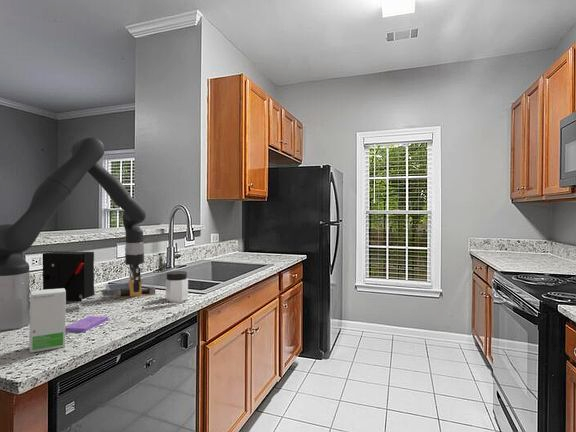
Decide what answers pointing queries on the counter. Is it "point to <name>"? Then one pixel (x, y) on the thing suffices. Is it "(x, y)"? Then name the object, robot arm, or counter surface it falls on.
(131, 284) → the orange block
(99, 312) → the counter surface
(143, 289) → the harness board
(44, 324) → the skincare box
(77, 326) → the sponges
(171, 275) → the jar
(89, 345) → the counter surface
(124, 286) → the tray
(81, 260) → the electrical component
